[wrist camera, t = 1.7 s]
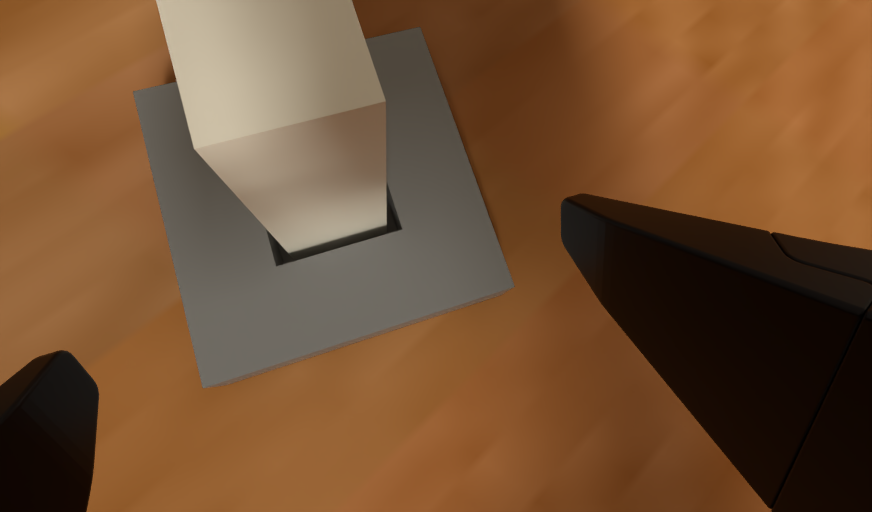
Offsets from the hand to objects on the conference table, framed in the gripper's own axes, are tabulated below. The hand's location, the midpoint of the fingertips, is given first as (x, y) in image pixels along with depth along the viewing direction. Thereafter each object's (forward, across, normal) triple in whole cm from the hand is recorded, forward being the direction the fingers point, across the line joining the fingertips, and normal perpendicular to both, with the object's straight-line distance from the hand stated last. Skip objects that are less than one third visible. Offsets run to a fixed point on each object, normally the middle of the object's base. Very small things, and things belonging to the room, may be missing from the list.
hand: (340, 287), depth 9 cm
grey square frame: (+12, 0, +5) cm, 13 cm away
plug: (+12, 0, +4) cm, 13 cm away
